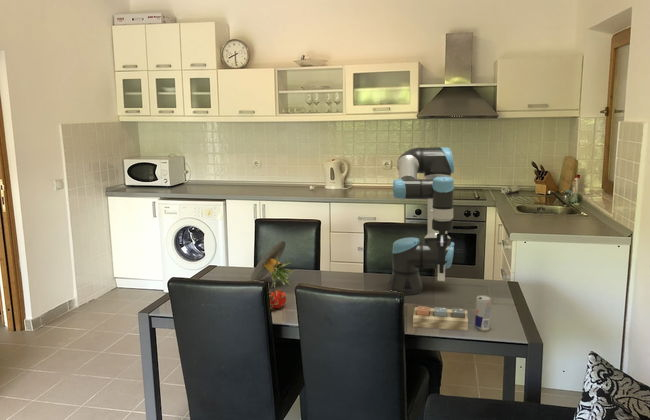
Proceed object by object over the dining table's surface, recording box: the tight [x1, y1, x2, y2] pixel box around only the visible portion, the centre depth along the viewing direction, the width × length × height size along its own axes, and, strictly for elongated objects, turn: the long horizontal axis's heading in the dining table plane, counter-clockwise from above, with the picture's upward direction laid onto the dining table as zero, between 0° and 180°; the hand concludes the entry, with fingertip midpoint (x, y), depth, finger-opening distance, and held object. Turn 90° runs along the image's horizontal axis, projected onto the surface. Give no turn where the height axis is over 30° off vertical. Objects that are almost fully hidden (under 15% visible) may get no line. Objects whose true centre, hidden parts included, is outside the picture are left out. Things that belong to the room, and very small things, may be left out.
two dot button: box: [451, 307, 465, 318], centre depth 204 cm, size 4×4×3 cm
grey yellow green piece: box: [249, 240, 296, 289], centre depth 251 cm, size 25×18×25 cm
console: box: [412, 306, 469, 331], centre depth 206 cm, size 20×11×4 cm, turn 77°
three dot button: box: [434, 306, 448, 317], centre depth 205 cm, size 4×4×3 cm
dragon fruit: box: [268, 289, 288, 310], centre depth 225 cm, size 8×8×12 cm
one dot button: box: [417, 305, 430, 316], centre depth 207 cm, size 4×4×3 cm
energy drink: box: [474, 294, 492, 332], centre depth 199 cm, size 5×5×12 cm
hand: (441, 280), depth 203 cm, fingers closed
